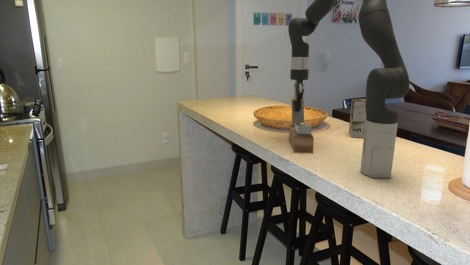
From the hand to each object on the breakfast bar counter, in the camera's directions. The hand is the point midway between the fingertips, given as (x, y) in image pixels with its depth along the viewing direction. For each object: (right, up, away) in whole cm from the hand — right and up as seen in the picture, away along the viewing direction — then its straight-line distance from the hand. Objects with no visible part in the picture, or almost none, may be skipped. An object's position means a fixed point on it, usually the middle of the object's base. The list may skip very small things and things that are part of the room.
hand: (298, 109), depth 148 cm
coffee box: (+28, -11, +9) cm, 32 cm away
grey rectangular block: (-1, -10, -14) cm, 17 cm away
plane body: (-1, -15, -8) cm, 17 cm away
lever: (0, -7, -1) cm, 7 cm away
